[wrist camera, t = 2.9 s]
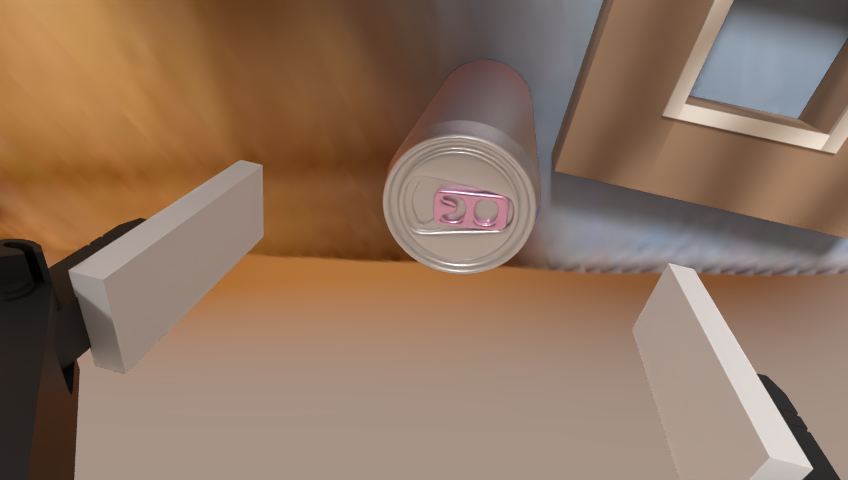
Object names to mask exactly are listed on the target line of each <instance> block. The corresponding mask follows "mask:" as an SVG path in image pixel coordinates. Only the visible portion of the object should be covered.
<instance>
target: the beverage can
mask: <svg viewBox="0 0 848 480" xmlns="http://www.w3.org/2000/svg"><path fill="white" fill-rule="evenodd" d="M540 201H541V189H540V178H539V168H538V157H537V147H536V137H535V126H534V116H533V105H532V98H531V94H530V91H529V88H528V86H527V84H526V82H525V81H524V79H523V78H522V77H521V75H520V74H519V73H518V72H517V71H515V70H514V69H513V68H511V67H510V66H508V65H506V64H504V63H501V62H498V61H494V60H477V61H473V62H470V63H467V64H465V65H463V66H461V67H459V68H458V69H456V70H455V71H454V72H453V73H452V74H451V75H450V76H449V77H448V78H447V79H446V81H445V82H444V84H443V85H442V86H441V88H440V89H439V91H438V92H437V94H436V95H435V97H434V98H433V99H432V101H431V102H430V104H429V105H428V107H427V108H426V110H425V111H424V113H423V114H422V115H421V117H420V118H419V120H418V121H417V123H416V124H415V126H414V127H413V129H412V130H411V131H410V133H409V134H408V136H407V137H406V139H405V140H404V142H403V143H402V144H401V146H400V147H399V149H398V150H397V152H396V153H395V155H394V157H393V158H392V160H391V162H390V165H389V167H388V171H387V174H386V180H385V186H384V191H383V211H384V216H385V220H386V223H387V225H388V228H389V230H390V232H391V234H392V235H393V237H394V239H395V240H396V241H397V243H398V244H399V245H400V246H401V248H402V249H403V250H404V251H405V252H407V253H408V254H409V255H410V256H411V257H412V258H414V259H415V260H417V261H418V262H420V263H422V264H424V265H426V266H428V267H430V268H433V269H435V270H439V271H442V272H446V273H452V274H473V273H479V272H483V271H487V270H490V269H493V268H495V267H497V266H500V265H501V264H503V263H505V262H506V261H508V260H509V259H511V258H512V257H513V256H514V255H515V254H516V253H517V252H518V251H519V250H520V249H521V248H522V247H523V245H524V244H525V243H526V241H527V240H528V238H529V236H530V234H531V231H532V229H533V226H534V223H535V220H536V218H537V215H538V212H539V207H540Z"/></svg>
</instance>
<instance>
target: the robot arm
mask: <svg viewBox="0 0 848 480" xmlns="http://www.w3.org/2000/svg"><path fill="white" fill-rule="evenodd" d="M262 238H263V165H260V164H256V163H252V162H247V161H243V160H239V161H238V162H236V163H235V164H233V165H232V166H230V167H228V168H227V169H225V170H224V171H222V172H221V173H219V174H218V175H216V176H214V177H213V178H211V179H210V180H208V181H207V182H205V183H204V184H202V185H200V186H199V187H197V188H196V189H194V190H193V191H191V192H190V193H188V194H186V195H185V196H183V197H182V198H180V199H179V200H177V201H176V202H174V203H172V204H171V205H169V206H168V207H166V208H165V209H163V210H162V211H160V212H158V213H157V214H155V215H154V216H152V217H151V218H149V219H148V220H147V219H143V218H139V219H136V220H133V221H130V222H127V223H124V224H121V225H119V226H117V227H115V228H114V229H112V230H110V231H109V232H107V233H105V234H104V235H103V237H99V238H97V239H96V240H94V241H92V242H91V243H90V245H86V246H84V247H83V248H81V249H79V250H78V251H76V252H74V253H73V254H71V255H70V256H68V257H66V258H65V259H63V260H61V261H60V262H58V263H56V264H55V265H53V266H51V267H50V268H48V267H47V264H46V260H45V257H44V254H43V251H42V248H41V245H39V244H37V243H35V242H34V241H30V240H24V239H4V240H0V480H74V472H75V452H76V432H77V431H76V430H77V412H78V391H79V373H80V369H79V366H78V363H77V358H79V357H80V356H81V355H82V354H83V353H84V352H86V351H87V350H88V349H89V348H90V349H91V352H92V356H93V359H94V363H95V366H98V367H101V368H105V369H108V370H112V371H115V372H119V373H123V374H127V373H128V372H129V371H130V370H131V369H132V368H133V367H134V366H135V365H136V364H137V363H138V362H139V361H140V360H141V358H143V357H144V356H145V355H146V354H147V353H148V352H149V351H150V350H151V349H152V348H153V347H154V346H155V344H157V342H159V341H160V340H161V339H162V338H163V337H164V336H165V335H166V334H167V333H168V332H169V331H170V330H171V329H172V328H173V327H174V326H175V325H176V324H177V323H178V321H180V320H181V318H183V317H184V316H185V315H186V314H187V313H188V312H189V311H190V310H191V309H192V308H193V307H194V306H195V305H196V303H197V302H199V300H201V299H202V298H203V297H204V296H205V295H206V293H208V292H209V291H210V290H211V288H213V287H214V286H215V285H216V284H217V283H218V282H219V281H220V280H221V279H222V278H223V277H224V275H225V274H227V273H228V272H229V270H231V269H232V268H233V267H234V266H235V265H236V264H237V263H238V262H239V261H240V260H241V259H242V258H243V257H244V256H245V255H246V254H247V253H248V252H249V251H250V250H251V249H252V248H253V247H254V246H255V245H256V244H257V243H258V242H259V241H260V240H261V239H262ZM632 332H633V335H634V338H635V341H636V344H637V348H638V351H639V354H640V357H641V360H642V363H643V366H644V370H645V372H646V376H647V379H648V382H649V385H650V388H651V392H652V395H653V398H654V401H655V404H656V407H657V410H658V413H659V417H660V420H661V423H662V426H663V429H664V432H665V435H666V438H667V442H668V445H669V448H670V451H671V454H672V457H673V461H674V463H675V467H676V470H677V473H678V476H679V479H680V480H840V478H839V477H838V475H837V474H836V472H835V470H834V469H833V467H832V466H831V464H830V463H829V461H828V459H827V458H826V456H825V455H824V453H823V452H822V450H821V449H820V447H819V446H818V444H817V442H816V441H815V440H814V438H813V436H812V435H811V433H810V432H807V427H806V425H805V424H804V422H803V420H802V419H801V418H800V417H799V416H797V414H798V413H797V411H796V409H795V408H794V406H793V405H792V403H791V402H790V400H789V399H788V397H787V395H786V394H785V393H784V392H783V391H782V390H781V389H780V388H779V387H778V386H777V385H776V384H775V383H774V382H773V381H772V380H770V379H769V378H768V377H767V376H765V375H761V374H757V373H756V372H755V371H754V369H753V367H752V366H751V364H750V362H749V361H748V359H747V357H746V356H745V354H744V352H743V351H742V349H741V348H740V346H739V344H738V342H737V341H736V339H735V337H734V336H733V334H732V332H731V331H730V329H729V327H728V326H727V324H726V322H725V321H724V319H723V317H722V316H721V314H720V312H719V311H718V309H717V307H716V306H715V304H714V302H713V301H712V299H711V297H710V296H709V294H708V292H707V290H706V289H705V287H704V285H703V284H702V282H701V280H700V279H699V277H698V276H697V274H696V272H695V270H694V269H691V268H687V267H683V266H679V265H674V264H670V263H668V265H667V267H666V268H665V270H664V272H663V274H662V276H661V278H660V279H659V281H658V283H657V285H656V287H655V288H654V290H653V292H652V294H651V296H650V298H649V299H648V301H647V303H646V305H645V307H644V308H643V310H642V312H641V314H640V316H639V318H638V319H637V321H636V323H635V325H634V327H633V328H632Z"/></svg>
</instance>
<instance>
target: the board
mask: <svg viewBox="0 0 848 480" xmlns="http://www.w3.org/2000/svg"><path fill="white" fill-rule="evenodd" d="M732 3H733V0H604V1H603V3H602V6H601V9H600V12H599V15H598V18H597V21H596V24H595V27H594V30H593V33H592V36H591V39H590V42H589V45H588V48H587V51H586V54H585V57H584V60H583V63H582V66H581V68H580V71H579V74H578V77H577V80H576V83H575V86H574V89H573V92H572V95H571V98H570V101H569V104H568V107H567V110H566V113H565V116H564V119H563V122H562V125H561V128H560V131H559V134H558V136H557V139H556V142H555V145H554V148H553V151H552V160H553V165H554V171H557V172H561V173H565V174H570V175H574V176H578V177H583V178H587V179H591V180H596V181H600V182H604V183H609V184H613V185H617V186H622V187H626V188H630V189H635V190H639V191H643V192H648V193H652V194H656V195H661V196H665V197H670V198H674V199H678V200H683V201H687V202H691V203H696V204H700V205H704V206H709V207H713V208H717V209H722V210H726V211H730V212H735V213H739V214H743V215H748V216H752V217H756V218H761V219H765V220H769V221H774V222H778V223H782V224H787V225H791V226H796V227H800V228H804V229H809V230H813V231H817V232H822V233H826V234H830V235H835V236H839V237H843V238H848V39H847V40H846V42H845V44H844V45H843V47H842V48H841V50H840V52H839V53H838V55H837V57H836V58H835V60H834V61H833V63H832V65H831V66H830V68H829V70H828V71H827V73H826V74H825V76H824V78H823V79H822V81H821V83H820V84H819V86H818V87H817V89H816V91H815V92H814V94H813V96H812V97H811V99H810V100H809V102H808V104H807V105H806V107H805V109H804V110H803V112H802V113H801V115H800V117H799V118H798V119H796V118H791V117H786V116H782V115H777V114H772V113H768V112H763V111H759V110H754V109H749V108H745V107H740V106H735V105H731V104H726V103H721V102H717V101H712V100H707V99H703V98H698V97H693V96H689V94H690V91H691V89H692V87H693V85H694V83H695V81H696V79H697V77H698V75H699V72H700V70H701V68H702V66H703V64H704V62H705V60H706V58H707V55H708V53H709V51H710V49H711V47H712V45H713V43H714V41H715V39H716V36H717V34H718V32H719V30H720V28H721V26H722V24H723V22H724V20H725V17H726V15H727V13H728V11H729V9H730V7H731V5H732Z"/></svg>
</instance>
